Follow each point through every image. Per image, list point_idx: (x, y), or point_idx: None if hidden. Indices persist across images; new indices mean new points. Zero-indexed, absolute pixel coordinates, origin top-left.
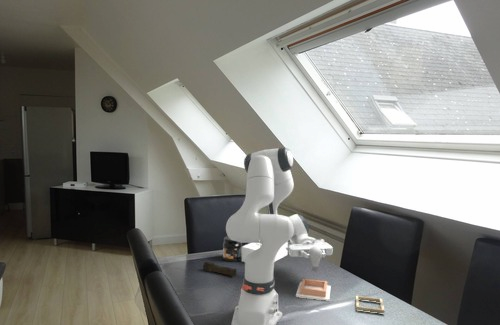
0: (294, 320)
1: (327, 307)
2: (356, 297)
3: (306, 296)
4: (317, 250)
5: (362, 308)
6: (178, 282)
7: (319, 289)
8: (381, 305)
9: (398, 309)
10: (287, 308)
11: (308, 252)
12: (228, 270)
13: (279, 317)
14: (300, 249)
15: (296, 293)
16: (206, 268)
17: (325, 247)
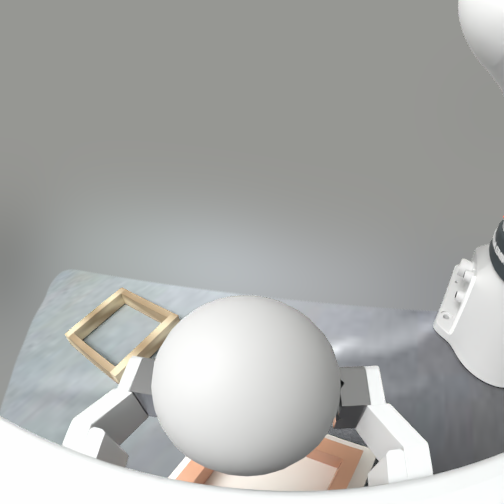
0: (399, 309)
1: None
2: (126, 363)
3: (329, 435)
4: (243, 296)
5: (164, 310)
6: None
7: None
8: (103, 306)
9: (69, 309)
10: (419, 368)
11: (339, 396)
12: None
13: (441, 305)
14: (442, 474)
15: (372, 464)
16: None
17: (20, 443)
